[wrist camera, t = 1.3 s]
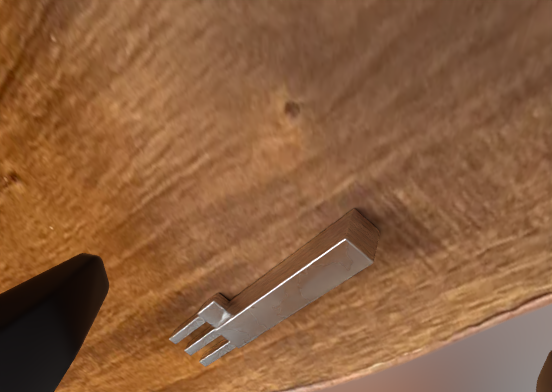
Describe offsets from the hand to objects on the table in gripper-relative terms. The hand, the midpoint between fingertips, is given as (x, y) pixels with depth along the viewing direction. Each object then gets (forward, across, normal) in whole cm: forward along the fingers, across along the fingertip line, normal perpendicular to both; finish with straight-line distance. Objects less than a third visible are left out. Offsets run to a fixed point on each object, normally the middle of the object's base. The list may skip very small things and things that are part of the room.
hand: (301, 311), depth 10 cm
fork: (+13, +5, +14) cm, 20 cm away
